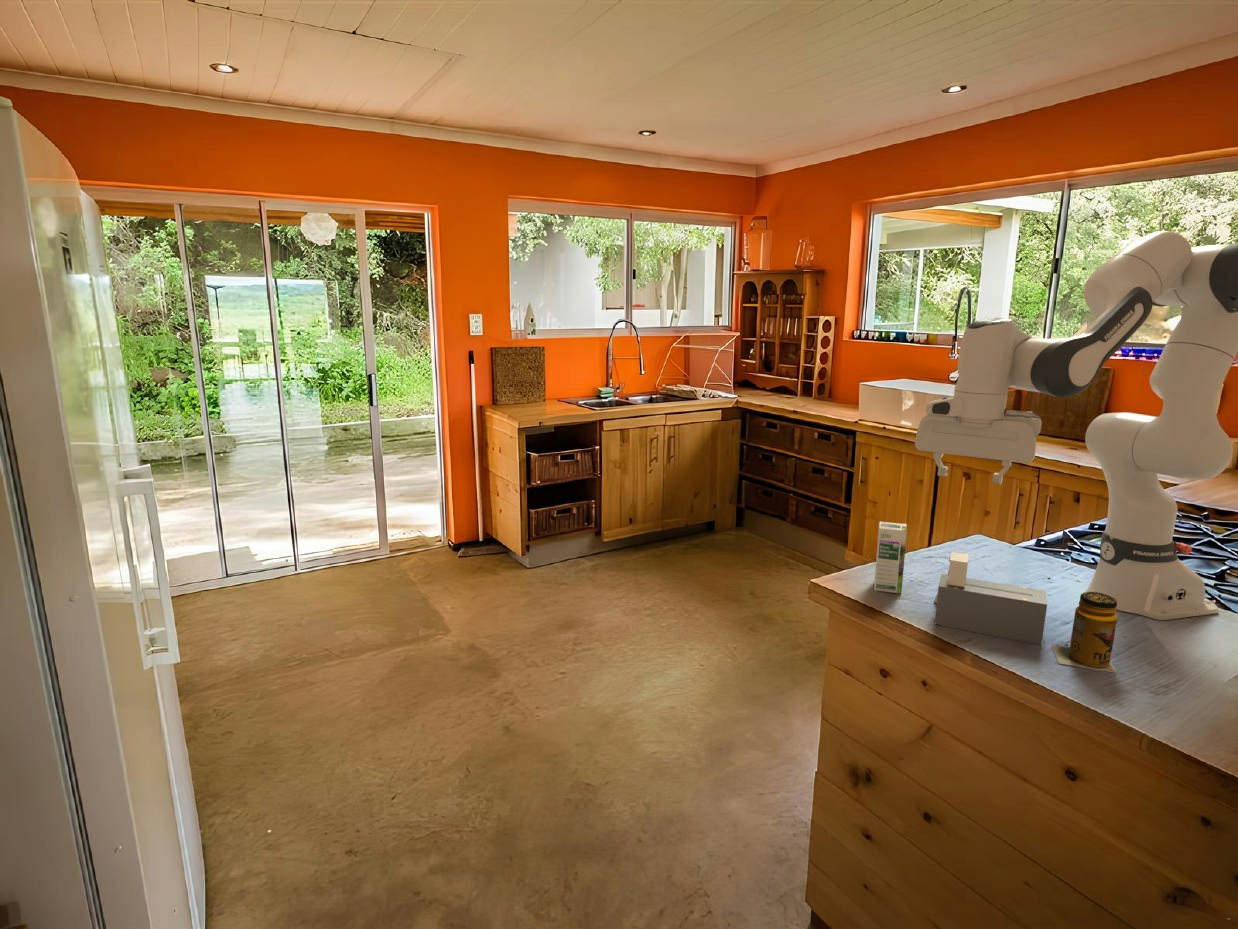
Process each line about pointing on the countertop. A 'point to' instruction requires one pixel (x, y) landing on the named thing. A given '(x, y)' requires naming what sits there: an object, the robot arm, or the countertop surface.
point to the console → (992, 609)
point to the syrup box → (890, 557)
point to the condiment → (1091, 633)
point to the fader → (958, 569)
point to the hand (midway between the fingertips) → (969, 479)
